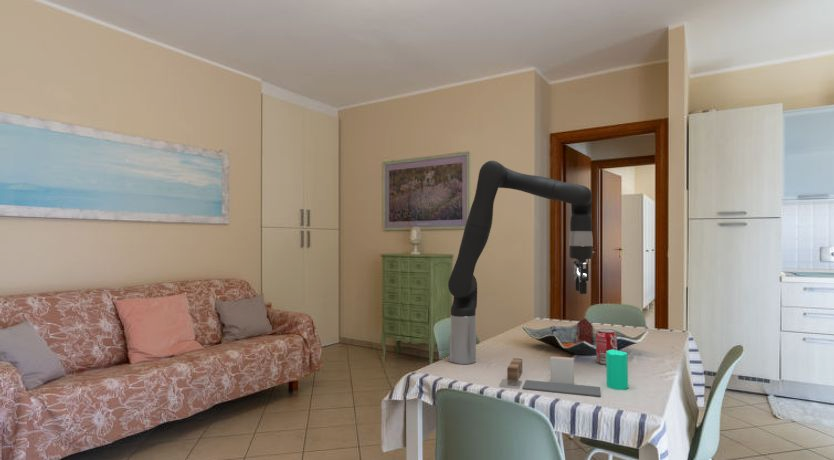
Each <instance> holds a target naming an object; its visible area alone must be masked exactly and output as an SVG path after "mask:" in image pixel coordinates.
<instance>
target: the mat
mask: <svg viewBox="0 0 834 460" xmlns="http://www.w3.org/2000/svg"><path fill="white" fill-rule="evenodd" d="M522 390H524V391H525V390H527V391H535V392H536V391H538V392H546V393H547V392H548V393H556V394H567V395H574V396H575V395H576V396H585V397H586V396H587V397H595V398H601V397H602V394H601V387H600V386H595V385H594V386H593V385H585V384H584V385H583V384H575V383H574V384H564V383H553V382H551V381H544V380H543V381H541V380H529V379H525V381H524V383H523V385H522Z"/></svg>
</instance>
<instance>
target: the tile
mask: <svg viewBox="0 0 834 460" xmlns="http://www.w3.org/2000/svg"><path fill="white" fill-rule="evenodd" d="M549 357H550V359H549V361H550V362H549V364H550V365H549V367H550V368H549V370H550V373H549V374H550V378H549V379H550V382H553V383H564V384H574V385H575V357H565V356H549Z"/></svg>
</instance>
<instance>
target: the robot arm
mask: <svg viewBox="0 0 834 460" xmlns="http://www.w3.org/2000/svg"><path fill="white" fill-rule="evenodd" d="M499 188H500V189H511V190H516V191H521V192H524V193H527V194H531V195H533V196H536V197H540V198H543V199H548V200H552V201H560V202H563V203H567V204H570V206H571V217H570V222H569V223H570V224H569V226H570V227H569V229H570V230H569V241H568V242H569V253H568V254H569V257H568V258H569V259H572V260H573V259H574V260H573V278H574V281H575V283H574V287H575V288H574V289H575V291H576V292H578V293H579V294H580V295H586V294H587V291H588V290H587V289H588V286H587V285H588V282H589V262H587V260H591V259H592V260H593V255H594V249H593V248H594V246H593V245H594V244H593V243H594V240H593V239H594V237H593V218H592V209H593V194H592V193H593V192H592V190H591V189H590V188H589V187H587V186H585V185H582V184H578V183H577V184H576V183H570V182H565V181H561V180H557V179H555V178H554V179H553V178H550V177H544V176H542V175H541V176H540V175H534V174H533V175H532V174H527V173H521V172H518V171H515V170H513V169H510V168H508V167H505V166H504V164H502V163H500V162H499V161H497V160H496V161H495V160H488V161H487V162H485V163H483V164H482V166H481V167H480V168H479V171H478V176H477V183H476V187H475V194H474V198H473V202H472V203H471V207H470V210H469V214H468V217H467V220H466V223H465V226H464V230H463V234H462V238H461V240H460V241H461V242H460V246H459V251H458V255H457V258H456V261H455V264H454V266H453V268H452V272H451V274H450V275H449V279H448V282H447V284H448V285H447V286H448V291H449V293H450V294H451V295H452V296H453V301H452V305H451V308H450V335H449V337H448V339H449V341H448V343H449V345H448V346H449V354H448V355H449V359H448V360H449V362H450V363H453V364H459V365H469V364H471V365H472V364H475V362H477V344H476V343H477V342H476V341H477V340H476V339H477V334H476V333H477V332H476V330H477V327H476V325H477V323H476V314H477V313H476V310H477V306H478V281H477V278H476V277H475V275H474V273H475V269H476V265H477V262H478V260H479V259H480V257H481V255H482V253H483V252H484V249H485V247H486V245H487V242H488V240H489V236H490V233H491V229H492V225H493V218H494V217H493V216H494V204H495V199H496V196H497V193H498V190H499Z"/></svg>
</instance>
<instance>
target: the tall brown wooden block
mask: <svg viewBox="0 0 834 460" xmlns="http://www.w3.org/2000/svg"><path fill="white" fill-rule="evenodd" d="M506 369H507V370H506V371H507V376H506V377H507V378H505V379H504V378H503V379H502V380H501V381H500V383H499V385H498V386H499V388H505V389H515V390H519V389H520V388H521V387H522V384H523V381H522V380H519V379H520V378H521V376H522V374H523V358H519V357H518V358H516V357H515V358H514V357H513V358H512V360H511V361H510V362H509V364H508V366H507V368H506Z"/></svg>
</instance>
